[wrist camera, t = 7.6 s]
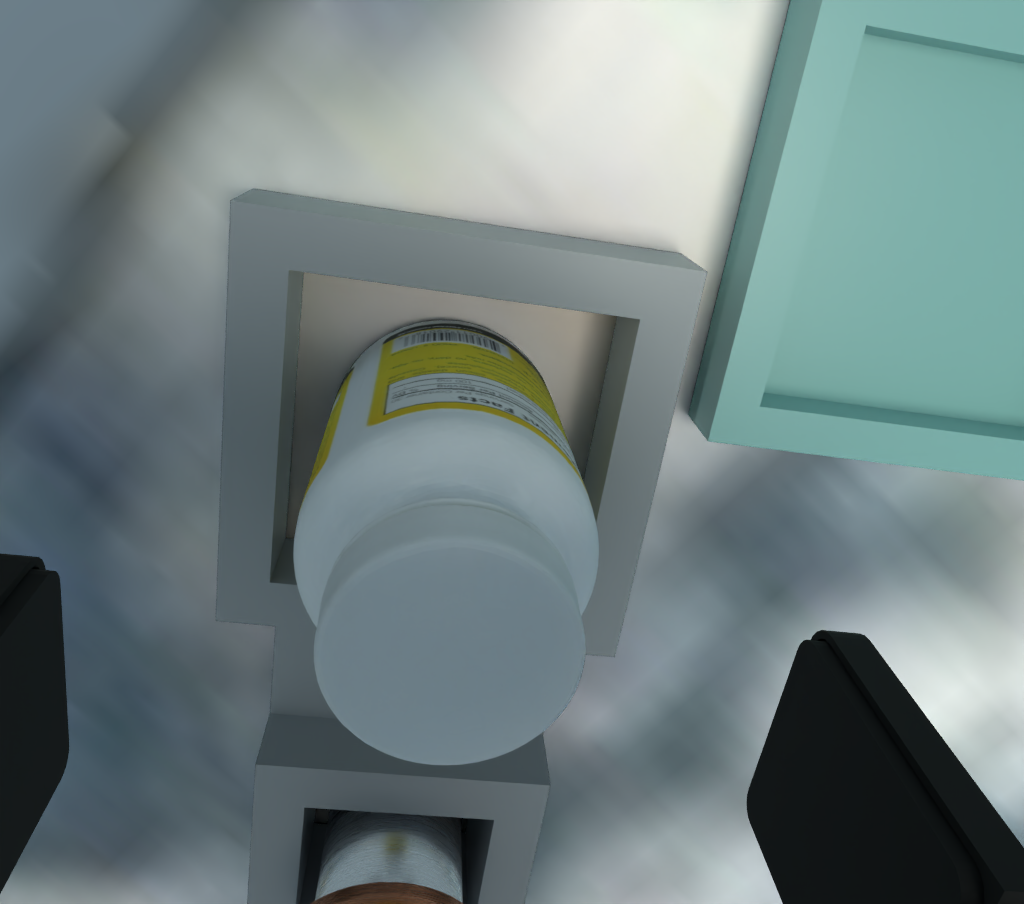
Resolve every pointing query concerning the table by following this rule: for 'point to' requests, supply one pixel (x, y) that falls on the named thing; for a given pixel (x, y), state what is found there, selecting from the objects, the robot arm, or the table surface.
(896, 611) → the table surface
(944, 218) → the tray
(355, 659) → the supplement bottle
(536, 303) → the housing
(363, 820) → the plunger
